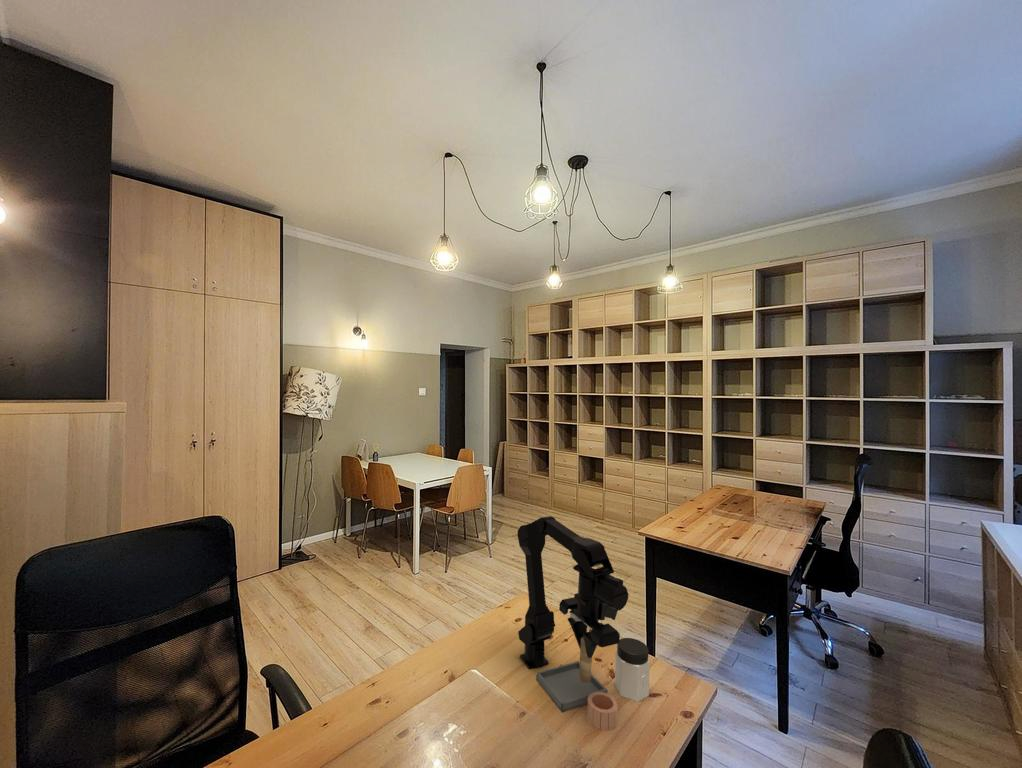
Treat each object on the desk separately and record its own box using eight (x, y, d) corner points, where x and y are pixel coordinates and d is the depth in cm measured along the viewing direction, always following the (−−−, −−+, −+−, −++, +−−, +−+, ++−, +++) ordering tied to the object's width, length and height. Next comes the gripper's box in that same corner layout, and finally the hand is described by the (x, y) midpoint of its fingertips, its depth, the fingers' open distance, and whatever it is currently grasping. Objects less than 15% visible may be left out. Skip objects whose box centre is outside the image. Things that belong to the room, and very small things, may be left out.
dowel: (576, 676, 106) (578, 637, 106) (586, 674, 107) (588, 635, 107) (583, 684, 103) (585, 644, 103) (593, 681, 104) (595, 641, 105)
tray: (536, 681, 112) (536, 672, 112) (578, 669, 118) (578, 660, 118) (561, 714, 101) (562, 704, 101) (607, 699, 107) (607, 689, 107)
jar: (632, 707, 104) (633, 659, 105) (608, 688, 111) (609, 642, 112) (654, 695, 109) (655, 649, 110) (630, 677, 116) (631, 634, 117)
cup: (581, 715, 101) (582, 696, 101) (604, 707, 104) (604, 689, 104) (599, 736, 94) (600, 716, 95) (623, 727, 97) (623, 707, 98)
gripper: (638, 604, 101) (635, 668, 100) (592, 573, 118) (589, 628, 117) (602, 612, 96) (598, 679, 96) (559, 578, 113) (556, 636, 112)
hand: (586, 653), depth 105 cm, fingers closed on dowel, 3 cm apart
